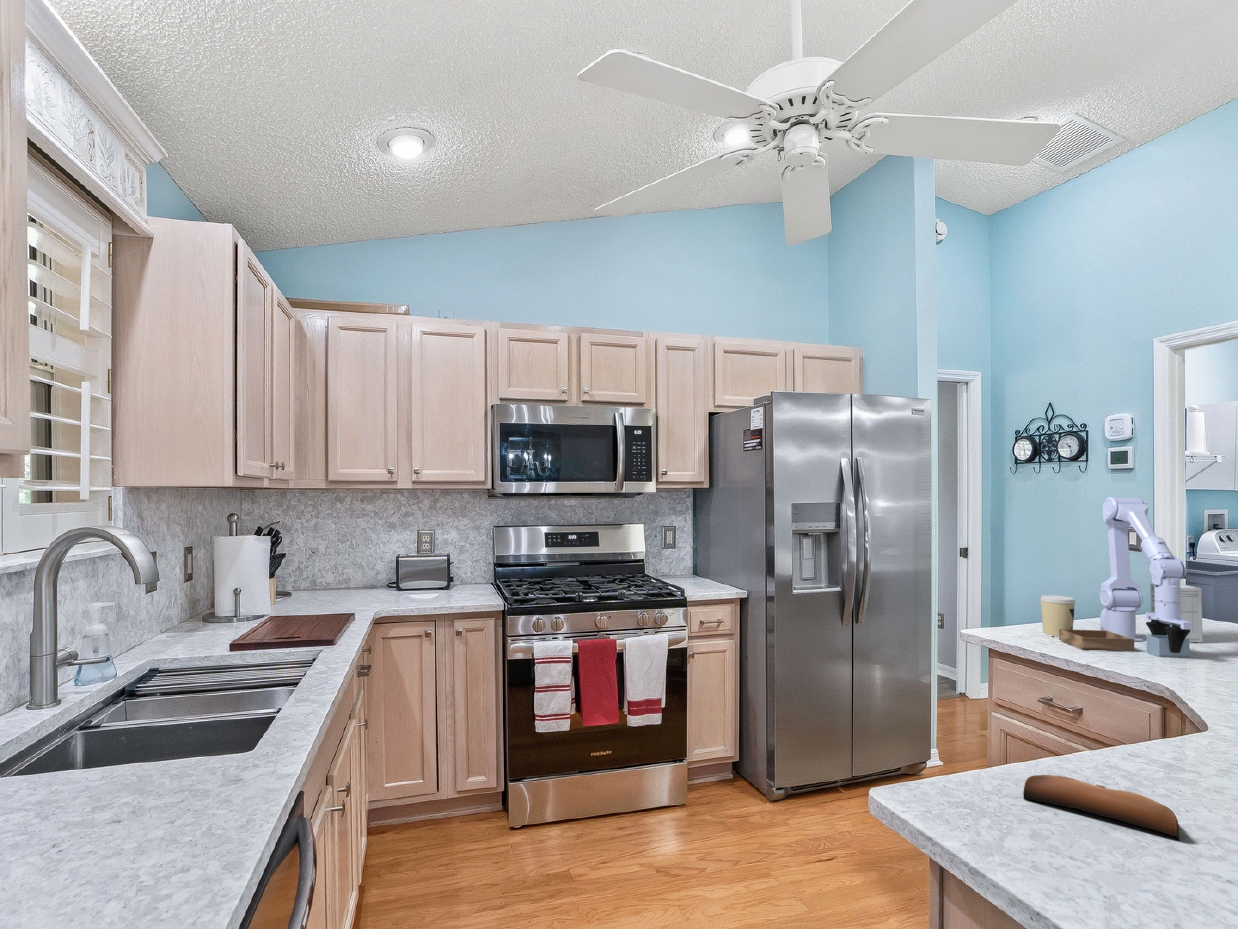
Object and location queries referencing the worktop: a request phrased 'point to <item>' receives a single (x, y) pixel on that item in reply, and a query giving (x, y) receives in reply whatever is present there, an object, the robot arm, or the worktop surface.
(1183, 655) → the slate crate
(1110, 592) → the robot arm
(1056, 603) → the coffee cup
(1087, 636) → the walnut crate
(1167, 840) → the worktop surface
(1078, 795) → the sunglasses case
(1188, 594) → the supplement box
